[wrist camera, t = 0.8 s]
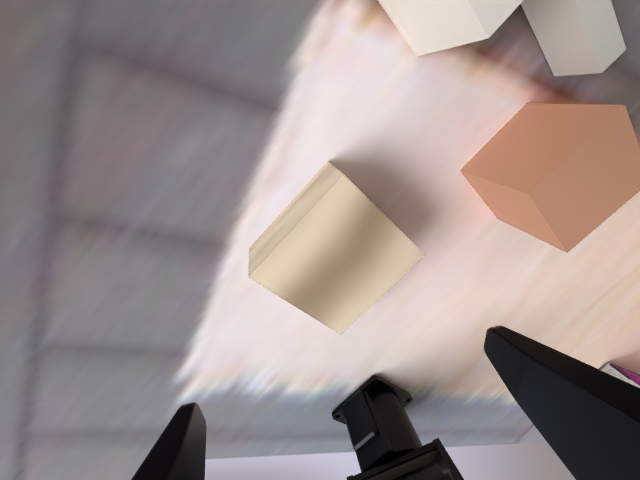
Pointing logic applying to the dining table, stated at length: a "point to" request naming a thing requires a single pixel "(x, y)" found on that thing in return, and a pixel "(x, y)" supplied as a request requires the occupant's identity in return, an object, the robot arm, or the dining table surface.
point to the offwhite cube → (446, 21)
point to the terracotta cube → (558, 170)
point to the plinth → (576, 34)
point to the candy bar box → (621, 374)
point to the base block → (331, 251)
